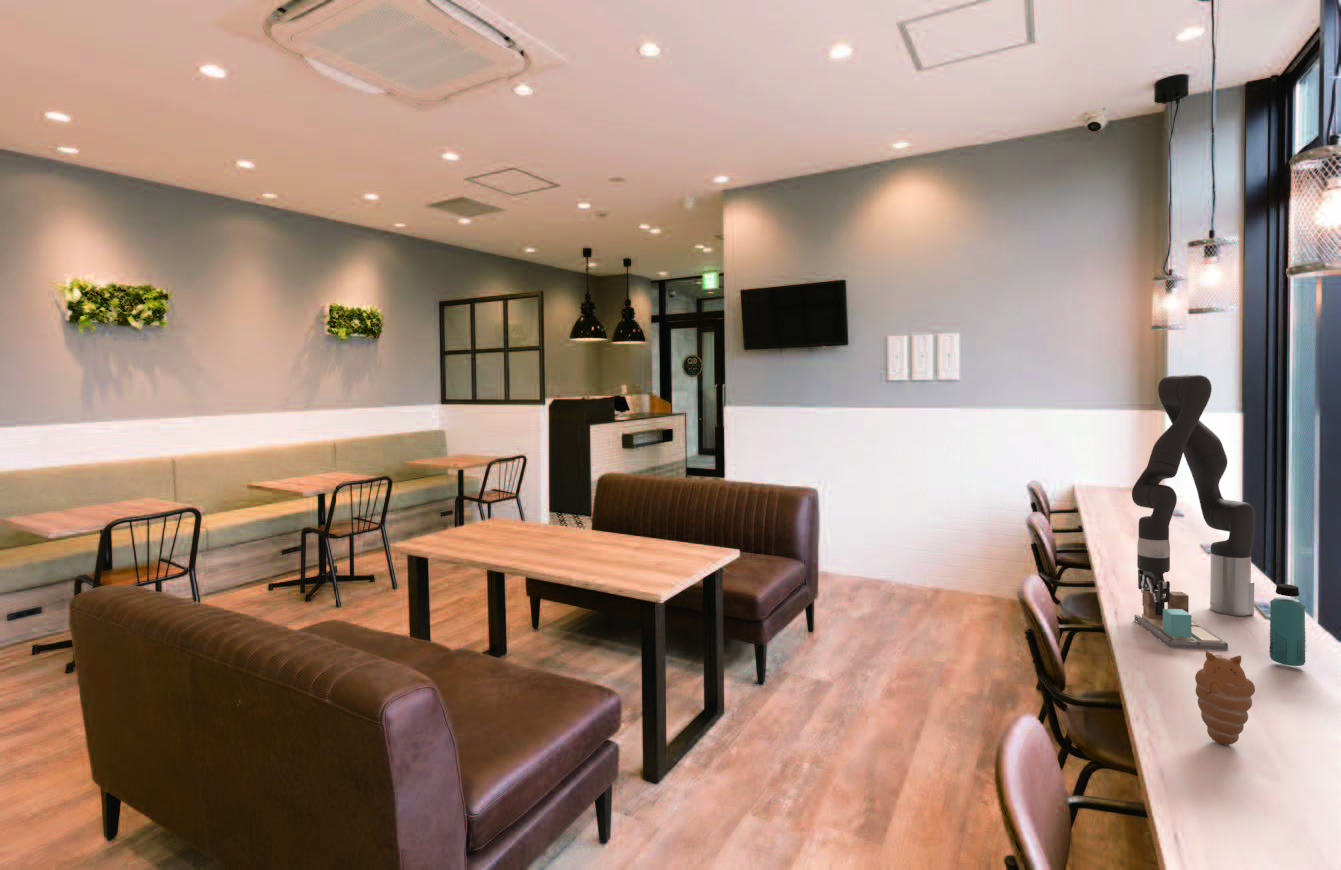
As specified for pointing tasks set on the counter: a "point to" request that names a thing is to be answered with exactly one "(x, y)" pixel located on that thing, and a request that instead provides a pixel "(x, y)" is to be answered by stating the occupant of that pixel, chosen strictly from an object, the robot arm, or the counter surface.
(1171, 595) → the short strip
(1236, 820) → the counter surface
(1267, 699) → the counter surface
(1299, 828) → the counter surface
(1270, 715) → the counter surface
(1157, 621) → the cube strip
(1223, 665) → the cat ice cream
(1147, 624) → the lane board
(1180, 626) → the teal cube
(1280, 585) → the beverage bottle
